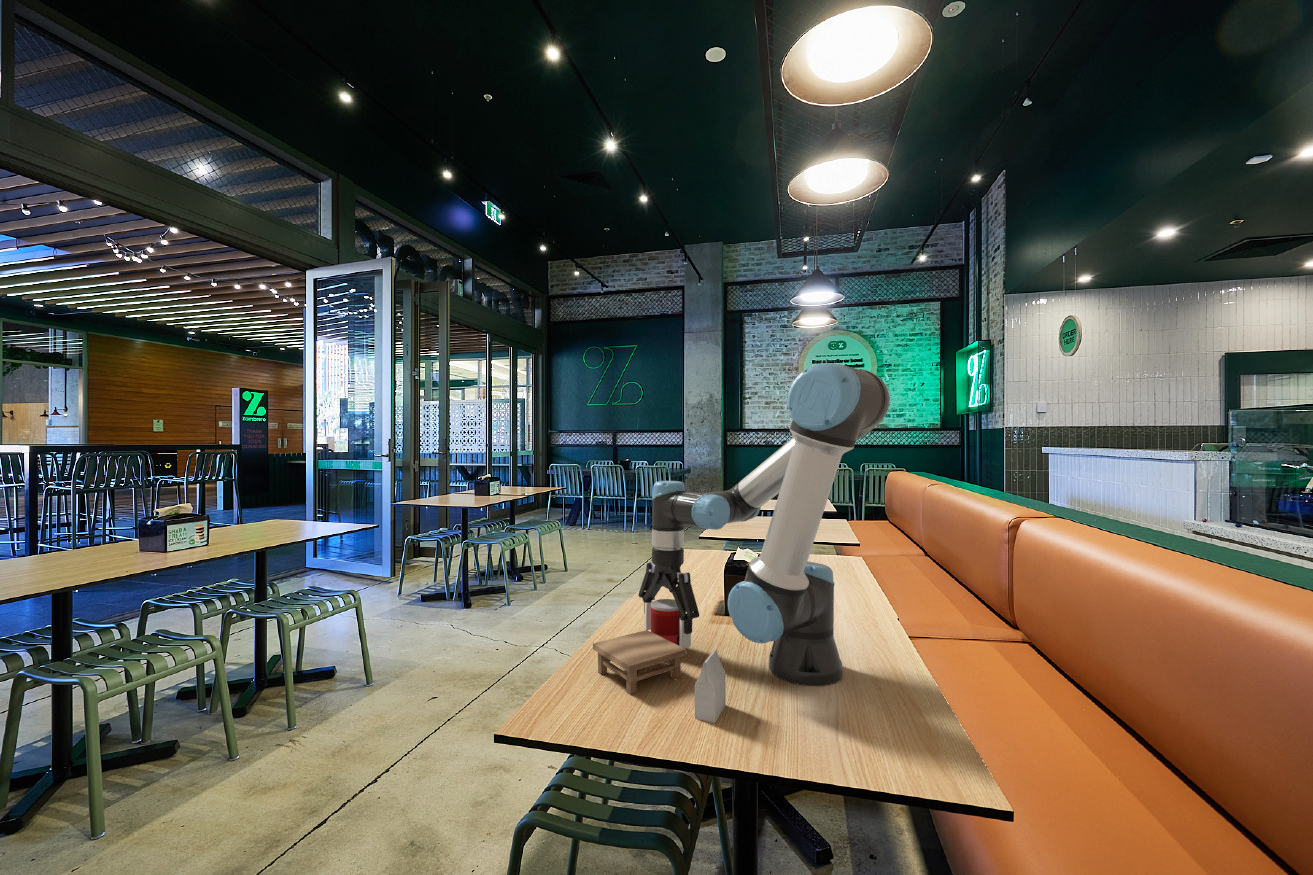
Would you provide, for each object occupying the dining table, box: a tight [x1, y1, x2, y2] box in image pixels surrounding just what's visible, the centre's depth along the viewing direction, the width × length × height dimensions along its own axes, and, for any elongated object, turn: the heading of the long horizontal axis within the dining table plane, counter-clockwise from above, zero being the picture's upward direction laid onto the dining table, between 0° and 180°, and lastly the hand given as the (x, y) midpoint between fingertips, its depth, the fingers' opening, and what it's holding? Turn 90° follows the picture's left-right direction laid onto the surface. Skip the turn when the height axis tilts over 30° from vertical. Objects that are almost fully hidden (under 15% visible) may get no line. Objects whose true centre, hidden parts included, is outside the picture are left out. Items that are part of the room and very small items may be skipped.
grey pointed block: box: [694, 649, 727, 724], centre depth 95 cm, size 4×7×10 cm, turn 157°
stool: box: [592, 630, 687, 695], centre depth 110 cm, size 14×14×6 cm
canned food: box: [650, 598, 682, 646], centre depth 124 cm, size 8×8×11 cm
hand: (666, 637), depth 124 cm, fingers open, 13 cm apart
